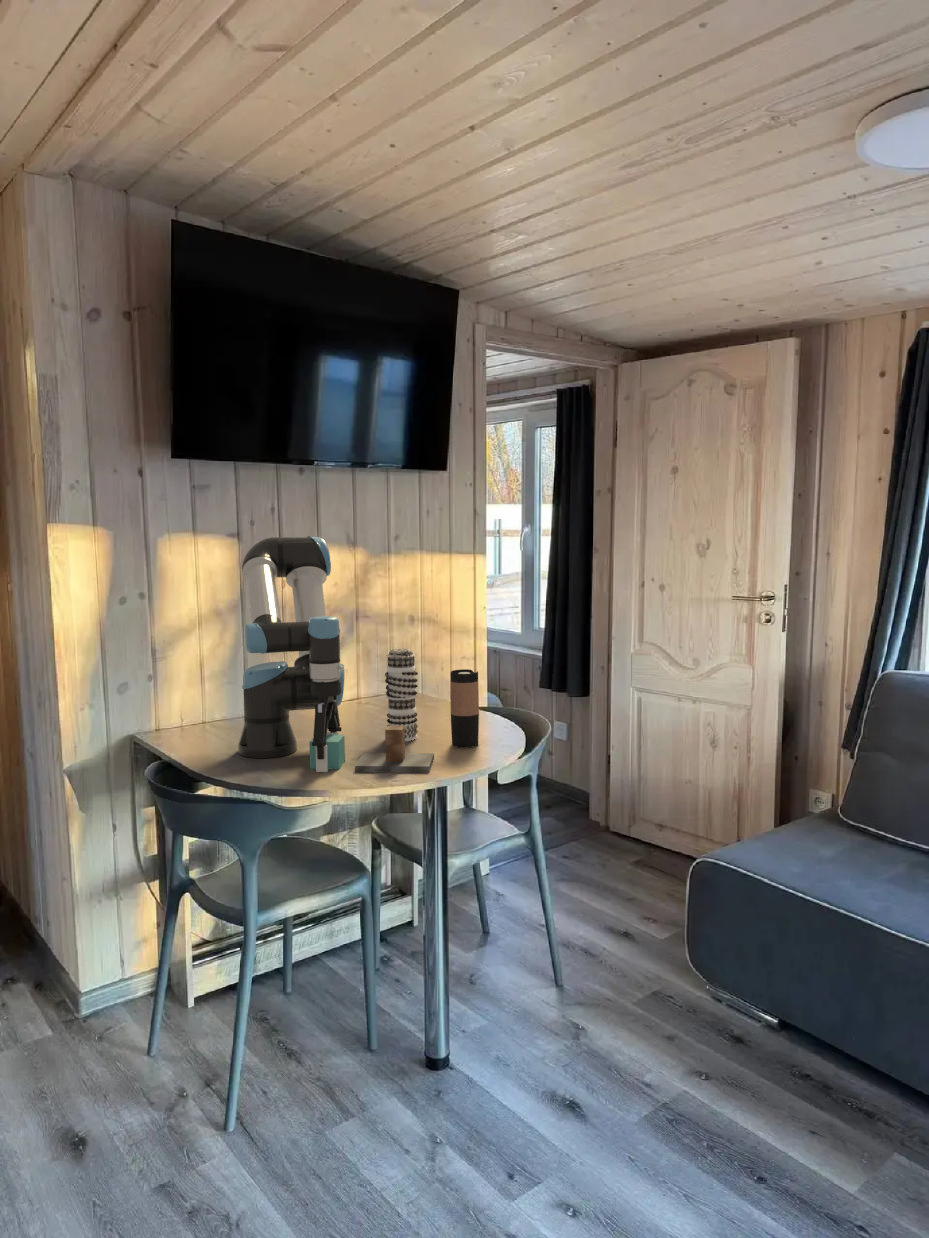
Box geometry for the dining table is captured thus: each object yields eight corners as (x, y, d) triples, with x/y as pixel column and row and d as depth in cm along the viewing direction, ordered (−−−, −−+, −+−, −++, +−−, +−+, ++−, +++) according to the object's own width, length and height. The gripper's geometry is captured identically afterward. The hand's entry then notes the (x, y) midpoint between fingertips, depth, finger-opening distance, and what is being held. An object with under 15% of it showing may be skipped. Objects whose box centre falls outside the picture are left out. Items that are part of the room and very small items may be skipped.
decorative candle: (420, 733, 246) (418, 647, 243) (417, 741, 237) (416, 651, 234) (388, 733, 246) (386, 647, 243) (384, 742, 237) (382, 652, 234)
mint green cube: (310, 768, 211) (309, 741, 210) (317, 760, 218) (316, 734, 217) (339, 769, 211) (338, 741, 210) (345, 761, 218) (344, 734, 217)
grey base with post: (355, 771, 208) (354, 733, 207) (363, 758, 220) (363, 722, 219) (429, 772, 207) (428, 733, 206) (434, 759, 219) (433, 722, 218)
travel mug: (449, 747, 230) (448, 673, 228) (453, 740, 238) (452, 669, 235) (477, 748, 229) (476, 674, 227) (480, 741, 236) (480, 669, 234)
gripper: (329, 688, 200) (332, 778, 202) (350, 671, 224) (352, 751, 226) (297, 688, 200) (300, 778, 202) (321, 671, 225) (324, 751, 227)
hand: (327, 764), depth 214 cm, fingers open, 12 cm apart
